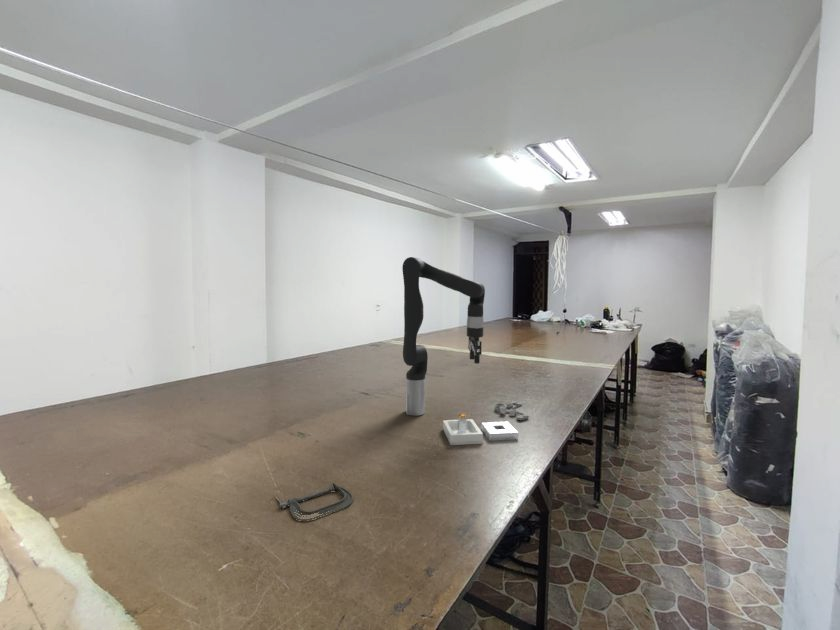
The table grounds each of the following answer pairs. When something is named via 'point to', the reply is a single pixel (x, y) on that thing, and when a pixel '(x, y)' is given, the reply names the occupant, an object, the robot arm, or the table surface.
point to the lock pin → (462, 423)
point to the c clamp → (331, 508)
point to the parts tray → (455, 438)
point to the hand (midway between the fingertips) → (474, 361)
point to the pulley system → (502, 409)
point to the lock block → (499, 431)
